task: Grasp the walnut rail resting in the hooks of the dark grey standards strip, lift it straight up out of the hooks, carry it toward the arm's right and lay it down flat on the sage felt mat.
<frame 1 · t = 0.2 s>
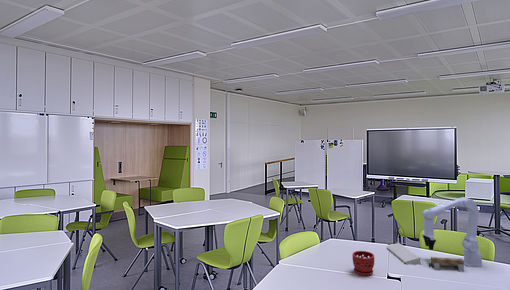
hand: (429, 247, 219), 10 cm above the table, fingers open, 7 cm apart
decorative molding: (402, 256, 233), on the table
standards: (447, 269, 206), on the table
mat: (443, 262, 219), on the table
plant pot: (363, 273, 202), on the table
rail: (447, 264, 206), point 3 cm above the table, touching standards
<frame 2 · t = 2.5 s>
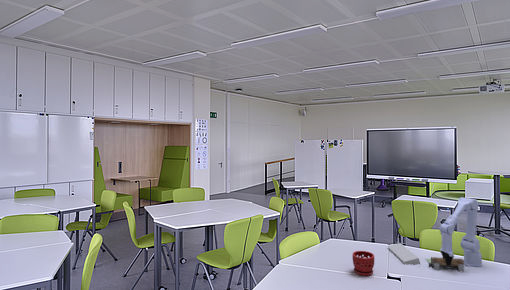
hand: (447, 264, 206), 3 cm above the table, fingers closed on rail, 3 cm apart
rail: (447, 264, 206), point 3 cm above the table, touching gripper, standards
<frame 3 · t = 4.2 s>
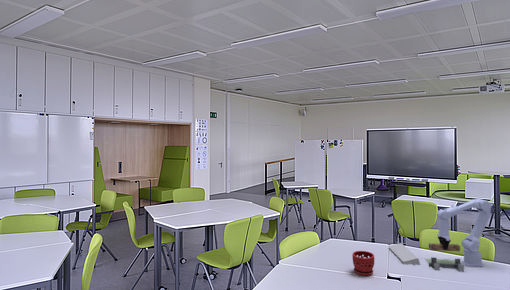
hand: (444, 248, 216), 10 cm above the table, fingers closed on rail, 3 cm apart
rail: (444, 249, 216), point 9 cm above the table, touching gripper
everything else where it was.
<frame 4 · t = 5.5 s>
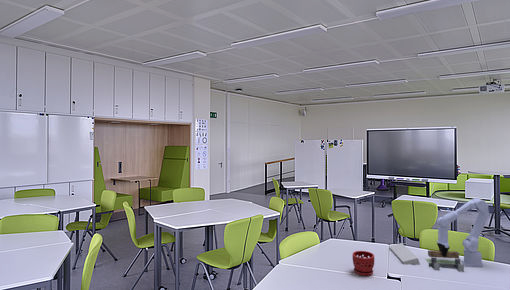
hand: (443, 255, 219), 5 cm above the table, fingers closed on rail, 3 cm apart
rail: (443, 256, 219), point 4 cm above the table, touching gripper
when the fingers open (2 cm above the table, at t = 6.4 s): rail stays where it is, resting on mat.
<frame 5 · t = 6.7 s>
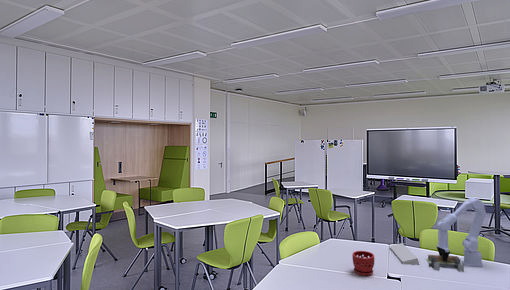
hand: (443, 259, 219), 2 cm above the table, fingers open, 6 cm apart
rail: (443, 261, 219), resting on mat
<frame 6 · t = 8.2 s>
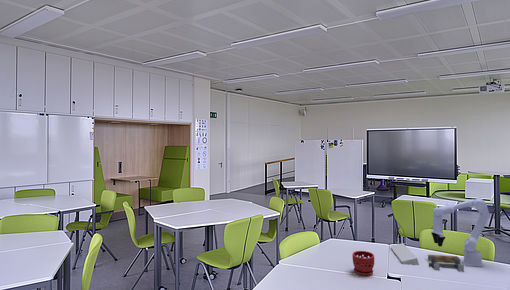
hand: (438, 244, 225), 10 cm above the table, fingers open, 7 cm apart
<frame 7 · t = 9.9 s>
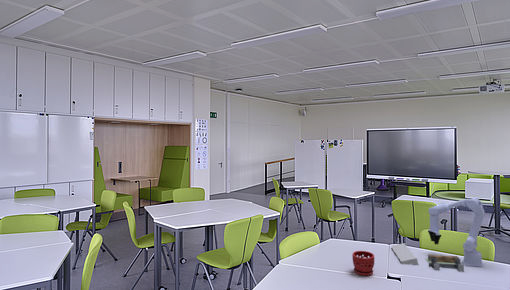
hand: (434, 242, 230), 10 cm above the table, fingers open, 7 cm apart
at the end: rail inside the target area (0.0 cm from its centre), resting on mat; rail touching mat; the gripper is holding nothing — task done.
